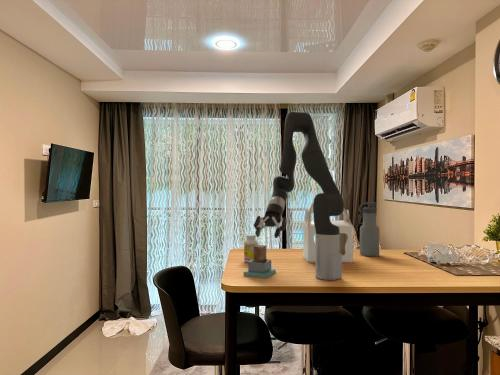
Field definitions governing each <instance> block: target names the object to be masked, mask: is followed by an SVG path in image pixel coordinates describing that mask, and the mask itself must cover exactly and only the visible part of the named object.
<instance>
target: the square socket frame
mask: <svg viewBox="0 0 500 375" xmlns="http://www.w3.org/2000/svg"><path fill="white" fill-rule="evenodd" d="M247 263H248V265H247V267H248V268H247V270H248V271H249V272H258V273H266V272H268V271H269V270H271V269H272V259H267V258H266V262H264V263H263V262H254V259H253V260H250V261H248V262H247Z"/></svg>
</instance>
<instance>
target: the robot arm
mask: <svg viewBox="0 0 500 375" xmlns="http://www.w3.org/2000/svg"><path fill="white" fill-rule="evenodd" d="M283 129H284V130H283V132H284V133H283V148H282V156H281V160H280V165H279V172H280V173H282V174H284V175H283V176H282V175H276V176H274V178H273V180H272V188H273V190H272V195H271V197H270V200H269V202H268V204H267V207H266V209H265V213H264V216H263V217H262V216H261V215H258V216H257V217H256V219H255V221H254V224H253V226H254V227H253V228H254V229H255V232H254V234H255V235H256V238H259V237H260V234H261V232H262V230H263V229H266V228H267V227H272V228H274V227H276V229H275V232H274V238H275V239H277V238H278V237H280V234H281V231H286V228H287V224H288V218H287V217H286V216H283V213H284V211H285V206H286V201H287V199H288V193H291V192H292V191H293V190H294V189H295V168H296V166H297V164H296V163H297V160H298V158H297V157H298V156H297V155H298V154H297V152H296V151H297V150H296V148H295V146H294V142H293V141H294V140H293V138H294V133H302V135H303V138H304V140H305V142H304V146H303V147H302V151H301V160H302V161H301V162H302V164H303V166H304V170H305V171H306V173H307V175H308V176H310V178H311V179H313V180H314V181H315V182H316V184H318V186H319V187H320V189H321V190H322V192H321V193H320V192H319V193H317V194H316V195H315V196H314V198H313V213H312V215H313V220H314V226H315V230H316V234H315V244H316V262H315V277H316V279H319V280H325V281H326V280H327V281H336V280H339V279H342V278H343V276H342V275H343V274H342V273H343V272H342V270H343V262H342V254H341V253H339V236H340V230H339V227H338V226H336V225H334V224H332V223H331V222H330V220H331V217H337V216H340V215H343V211H344V209H345V203H344V202H345V201H344V200H343V196H342V194H341V191H339V189H338V187H337V185H336V182H335V180H334V178H333V176H332V173H331V171H330V169H329V166H328V163H327V161H326V157H325V156H324V153H323V150H322V147H321V145H320V141H319V140H318V136H317V133H316V129H315V125H314V121H313V118H312V116H311V114H310V113H309V112H307V111H300V110H299V111H298V110H297V111H295V110H292V111H291V110H290V111H289V112H288V113H287V114H286V116H285V121H284V128H283ZM282 216H283V217H282ZM280 223H281V226H280V225H279V224H280Z"/></svg>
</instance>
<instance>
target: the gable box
mask: <svg viewBox="0 0 500 375" xmlns="http://www.w3.org/2000/svg"><path fill="white" fill-rule="evenodd" d="M312 215H313V203H311V204H310V207H309V209H305V216H304V220H303V223H302V224H303V225H302V229H303V230H302V233H303V234H302V235H303V236H302V238H303V239H302V241H303V242H302V250H303V251H302V252H303V254H302V257H303V258H304V259H305V260H306V262H307V263H316V241H315V238H314V237H315V236H316V230H315V226H314V219H312ZM330 222H331V223H332V224H334V225H336V226H338V227H339V230H340V233H339V253H341V254H342V263H354V225H353V223H352V220H351V218H350V211H349V209H345V208H344V211H343V213H342V220H341V219H340V220H339V219H330Z"/></svg>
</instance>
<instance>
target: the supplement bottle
mask: <svg viewBox="0 0 500 375" xmlns="http://www.w3.org/2000/svg"><path fill="white" fill-rule="evenodd" d="M245 238H246V239H245V240H244V242H243V261H244V262H245V263H248V261H250V260H253V259H254V246H256V245H259V241H258V240H257V239H256V238H257V236H256V234H255V233H250V234H249V233H248V234H246V235H245Z"/></svg>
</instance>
